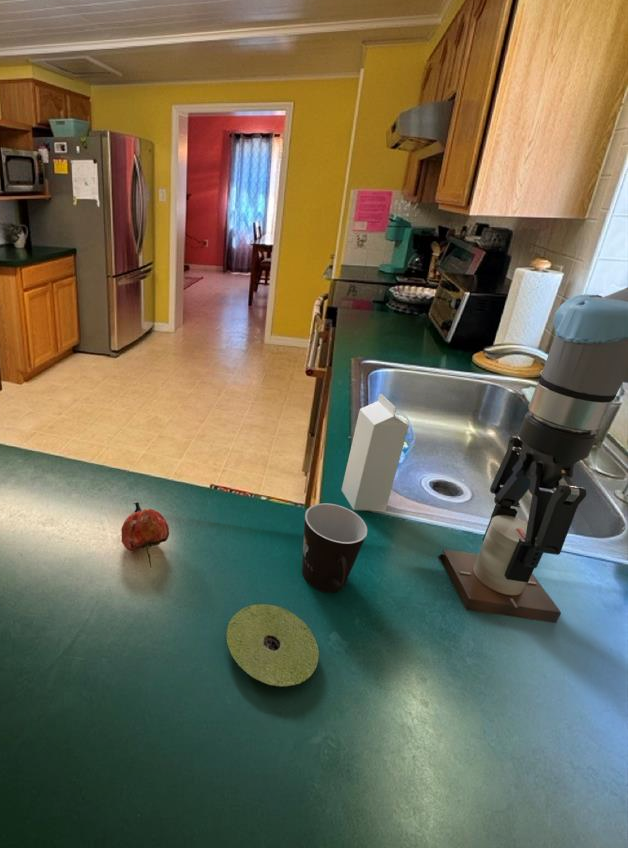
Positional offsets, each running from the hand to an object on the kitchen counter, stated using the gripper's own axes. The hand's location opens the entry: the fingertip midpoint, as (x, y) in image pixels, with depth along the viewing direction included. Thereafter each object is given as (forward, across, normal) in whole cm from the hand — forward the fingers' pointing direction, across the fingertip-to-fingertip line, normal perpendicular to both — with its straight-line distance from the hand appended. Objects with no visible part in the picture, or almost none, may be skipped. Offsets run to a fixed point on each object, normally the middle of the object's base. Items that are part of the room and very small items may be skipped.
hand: (503, 560), depth 69 cm
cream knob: (+3, 0, 0) cm, 3 cm away
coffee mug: (+6, -4, +26) cm, 27 cm away
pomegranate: (+6, -4, +53) cm, 53 cm away
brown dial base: (+5, 0, 0) cm, 5 cm away
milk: (+6, +16, +16) cm, 23 cm away
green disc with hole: (+6, -18, +33) cm, 38 cm away
